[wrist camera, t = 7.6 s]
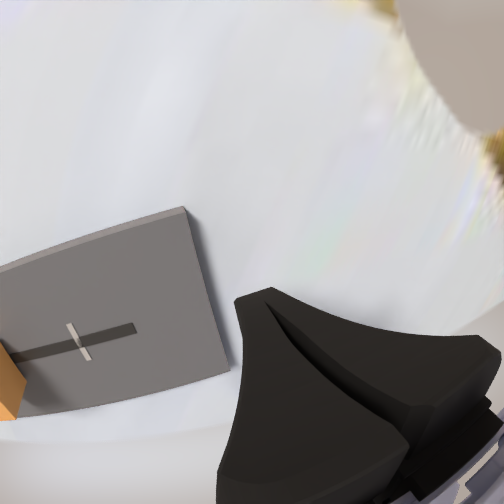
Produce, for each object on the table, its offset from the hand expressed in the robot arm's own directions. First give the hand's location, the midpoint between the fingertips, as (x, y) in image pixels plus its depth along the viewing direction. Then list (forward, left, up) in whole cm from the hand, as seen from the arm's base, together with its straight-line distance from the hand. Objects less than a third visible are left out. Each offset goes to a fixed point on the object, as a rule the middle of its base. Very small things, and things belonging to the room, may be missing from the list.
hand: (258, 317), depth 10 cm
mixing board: (-4, +13, -9) cm, 17 cm away
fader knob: (-4, +17, -8) cm, 19 cm away
